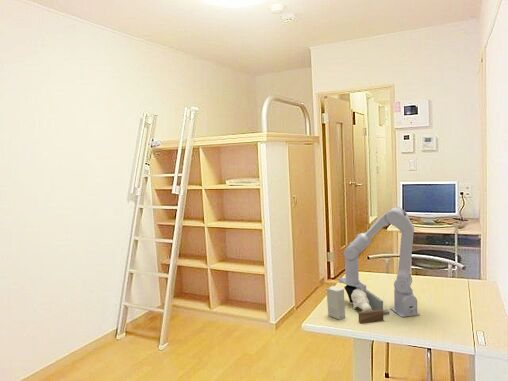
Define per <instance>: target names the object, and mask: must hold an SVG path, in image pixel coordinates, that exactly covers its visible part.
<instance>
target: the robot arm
mask: <svg viewBox="0 0 508 381" xmlns="http://www.w3.org/2000/svg"><path fill="white" fill-rule="evenodd" d="M389 225H391V226H394V227H395V228H397V229H398V230H399V231H400V232H401V236H400V246H399V260H398V269H397V273H396V280H394V282H393V286H394V289H393V290H394V294H393V295H394V297H393V298H394V306H393V307H392V306H391V307H390V308H389V309H390V310H392V311H393V312H394V313H396V314H397V315H399V316H400V317H401V318H403V317H405V318H406V317H407V318H408V317H413V316H420V313H419V312H418V298H417V297H416V296H415V295H414V292H413V288H412V287H411V285H412V284H413V277H412V275H411V273H412V271H411V266H412V253H413V242H414V233H415V227H414V225H413V223H412V221H411V220H410V217H409V216H408V213H407V212H406V210H404V209H403V208H402V207H399V206H394V207H392V208H390V210H389V211H387V212H386V213H384V214H383V215H381V216H380V217H379V218H378V219H377V220H376V221H375V222H374V223H373V225H372V226H371V227H370V228H369V229H368V230H367V231H366V232H361V233H357V234H356V235H355V238H354V240H353V241H350V242H349V245H348V246H346V247H345V249H344V250H343V257H344V260H345V262H344V272H345V274H344V275H345V278H344V277H339V278H338V283H339V284H344V285H346V286H344V287H343V289H344V291H345V292H346V294H347V296H348V300H349V302H350V303H352V304H353V301H352V298H351V294H352V292H353V291H354V290H355V289H357V288H359V289H361V290H362V291H364V290H367V285H366V284H364V283H362V282H360V280H359V255H360V253H362V252H363V251H364V250H365V249H366V248H367V247H368V246H369V245H370V244H372V237H374V236H375V235H376V234H377V233H378V232H379V231H380V229H382V228H383V227H388V226H389Z"/></svg>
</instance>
